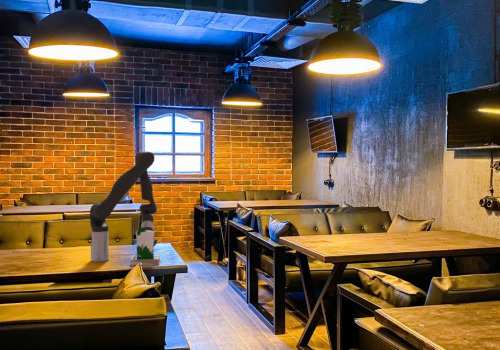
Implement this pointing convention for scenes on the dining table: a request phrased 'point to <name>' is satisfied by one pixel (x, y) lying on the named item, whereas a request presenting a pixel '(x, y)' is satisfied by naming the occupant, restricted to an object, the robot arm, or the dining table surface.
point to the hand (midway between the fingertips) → (146, 254)
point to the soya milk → (145, 244)
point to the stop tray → (145, 261)
